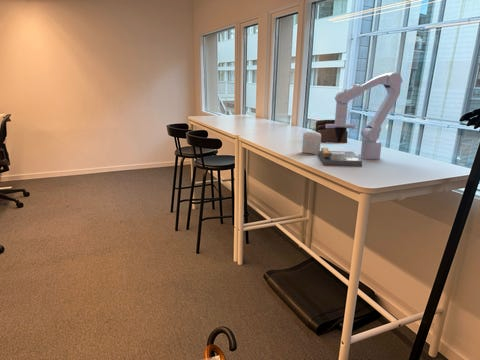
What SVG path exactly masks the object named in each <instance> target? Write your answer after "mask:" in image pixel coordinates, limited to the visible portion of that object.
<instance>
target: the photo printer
mask: <svg viewBox="0 0 480 360" xmlns="http://www.w3.org/2000/svg"><path fill="white" fill-rule="evenodd" d="M321 143H322V142H321V134H320V133H318V132H315V130H314V131H313V130H312V131H311V130H309V131H308V130H307V131H305V132H303V135H302V146H301V147H302V148H301V152H302V153H305V154H312V155H318V154H319V151H321Z"/></svg>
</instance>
